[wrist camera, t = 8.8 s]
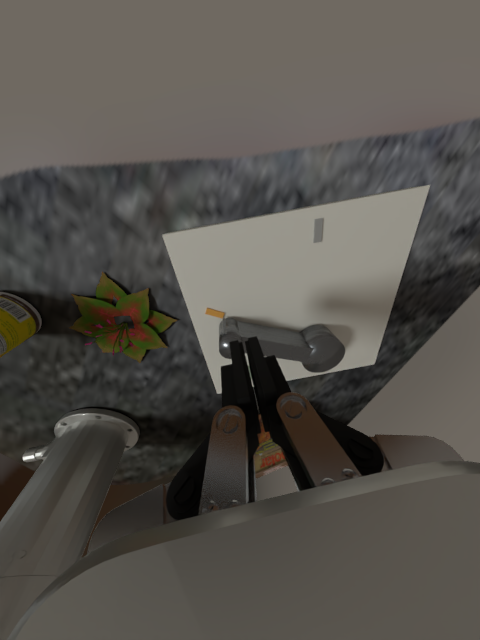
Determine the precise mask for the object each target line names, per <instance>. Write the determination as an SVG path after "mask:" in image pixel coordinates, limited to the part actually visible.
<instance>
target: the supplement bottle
mask: <svg viewBox="0 0 480 640" xmlns="http://www.w3.org/2000/svg"><path fill="white" fill-rule="evenodd" d="M41 324H42V320H41V317H40V314H39V313H38V311H37V310H36V309H35V308H34V307H33V306H32V305H31V304H30V303H28V302H27V301H25V300H24V299H22V298H20V297H18V296H16V295H13V294H9V293H5V292H0V357H2V356H3V355H4V354H6V353H7V352H9V351H10V350H12V349H13V348H15V347H16V346H18V345H19V344H21V343H22V342H24V341H25V340H27V339H28V338H30V337H31V336H33V335H34V334H35V333H37V332H38V331H39V329H40V328H41Z"/></svg>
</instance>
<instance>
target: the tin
mask: <svg viewBox="0 0 480 640" xmlns="http://www.w3.org/2000/svg"><path fill="white" fill-rule="evenodd" d="M258 416H259V422H260V427H261V433H260V434H257V435H258V440H259V444H260V445H259V447H258V448H257V450H256V452H255V453H254V456H255V477H256V478H259V477H261V476H263V475H266V474H268V473H271V472H273V471H276V470H278V469H281V468H283V467H286V466H288V464H287V462H286V459H285V457H284V455H283V453H282V450H281V447H280V446H278V445H277V444H275V443H274V442H273V441H272V438H270V434H269V432H265V431H264V427H263V423H262V418H261V414H259V415H258Z"/></svg>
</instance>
